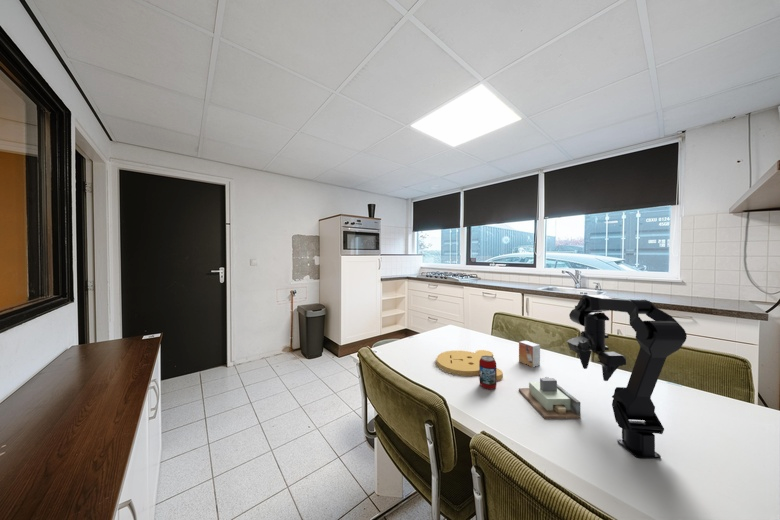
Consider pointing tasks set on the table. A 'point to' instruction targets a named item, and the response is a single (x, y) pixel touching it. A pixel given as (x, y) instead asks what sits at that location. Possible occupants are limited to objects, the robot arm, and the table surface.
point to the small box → (529, 353)
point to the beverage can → (488, 372)
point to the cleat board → (542, 410)
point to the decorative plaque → (463, 362)
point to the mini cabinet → (548, 393)
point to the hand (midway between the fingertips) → (594, 374)
